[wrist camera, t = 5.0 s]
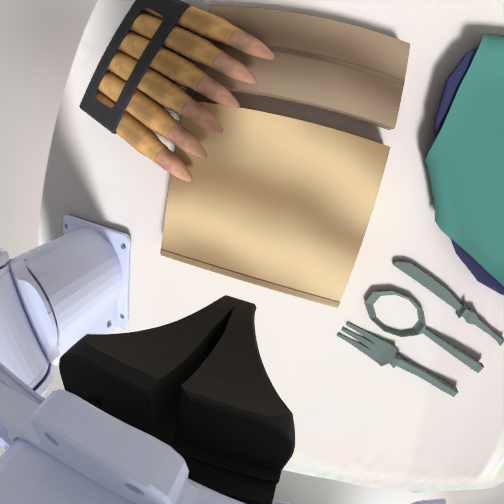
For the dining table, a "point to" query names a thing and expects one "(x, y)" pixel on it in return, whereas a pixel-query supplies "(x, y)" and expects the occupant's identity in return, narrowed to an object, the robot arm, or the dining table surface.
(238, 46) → the ammunition clip
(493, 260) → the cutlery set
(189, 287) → the dining table surface
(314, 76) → the floor row
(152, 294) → the dining table surface
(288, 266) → the plank
